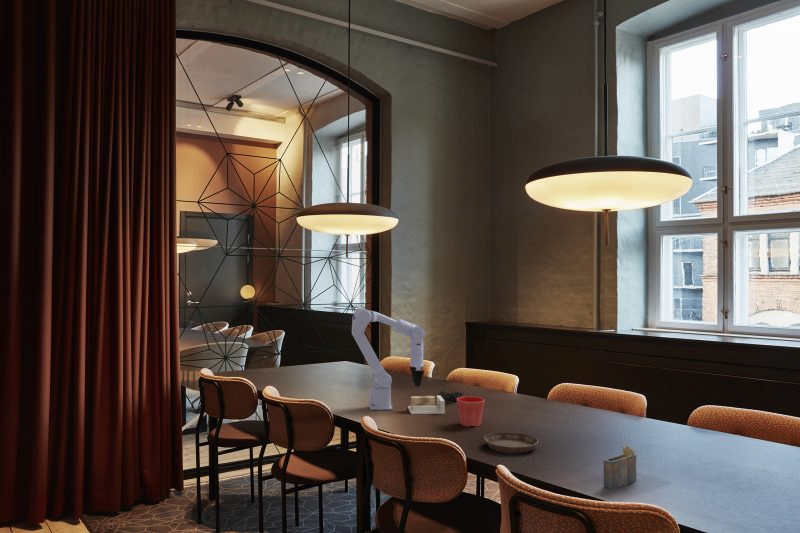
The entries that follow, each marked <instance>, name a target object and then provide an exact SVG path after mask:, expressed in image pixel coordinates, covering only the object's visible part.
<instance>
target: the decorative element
mask: <svg viewBox="0 0 800 533" xmlns="http://www.w3.org/2000/svg"><path fill="white" fill-rule="evenodd" d="M437 395H440V396H441V397H442V398H443V399H444V401H445V403H446V402H450V403H455V402H456V403H457V398H459V397H463V392H459V391H455V392H450V393H449V392H446V391H445V392H444V391H440V392H439V393H437V394H436V396H435V403H436V405H437Z"/></svg>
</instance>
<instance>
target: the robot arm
mask: <svg viewBox="0 0 800 533" xmlns="http://www.w3.org/2000/svg"><path fill="white" fill-rule="evenodd" d="M351 320H352V323H351V335H352V336H353V338H354V340H355V342H356V345H357V346H358V348H359V349H360V351H361V353H362V355H363V356H364V359H365V360H366V362H367V364H368V366H369V367H370V370H371V373H372V376H373V381H374V383H375V384H374V385H373V387H369V400H368V406H369V410H370V411H371V410H372V411H373V410H374V411H375V410H376V411H377V410H378V411H380V410H381V411H382V410H385V411H386V410H393V406H392V400H391V398H392V383H393V382H392V381H393V380H392V378H393V377H392V376H391V375H390V374H389V373H388V372H387V371H386V370H385V368H384V366H382V363H381V361H380V360H379V359H378V356H377V354H376V352H375V351H374V349H373V347H372V345H371V344H370V342H369V340H368V338H367V336H366V334H365V331H366V328H367V326H368V325H369V324H370V323H371V322H372V323H374V322H380V323H381V324H384V325H388V326H390V327H393V329H394V331H395V332H397V333H399V334H402V335H403V336H407V337H410V344H409V346H410V347H409V348H410V349H409V350H410V351H409V353H410V356H409V358H410V360H409V361H410V362H409V370H410V372H411V376H412V383H413V384H414V387H421V384H422V380H423V376H424V373H425V369H423V366H427V363H425V362H424V338H425V336H426V332H425V329H424V328H423V327H421V326H419V325H416V323H414V322H412V323H411V322H409V321H406V319H405V318H399V319H396V320H395V319H393V318H391V317H390V316H387V315H385V314H382V313H379V312H377V311H374V310H369V309H365V308H358V309H355V311H354V313H353V315H352V319H351Z"/></svg>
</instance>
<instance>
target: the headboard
mask: <svg viewBox="0 0 800 533" xmlns="http://www.w3.org/2000/svg"><path fill="white" fill-rule="evenodd" d="M436 395H437V394H436ZM436 401H437V403H436V404H437V405H433V406H413V410H411V405H408V406H407V408H408V411H409V413H410V414H411V415H438V414H439V415H440V414H441V415H442V414H446V410H445V409H446V405H445V404H446V402H445V401H444V399H443V398H442V397H441V396H440V395H437V399H436Z"/></svg>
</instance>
